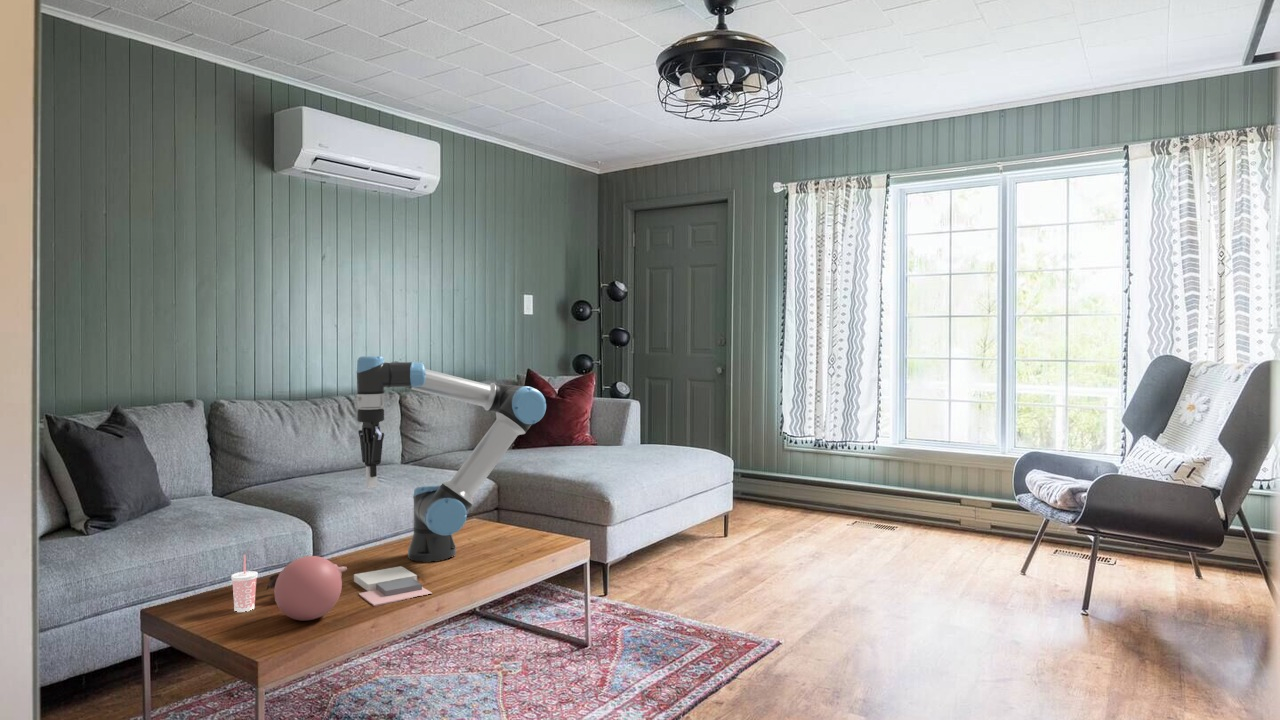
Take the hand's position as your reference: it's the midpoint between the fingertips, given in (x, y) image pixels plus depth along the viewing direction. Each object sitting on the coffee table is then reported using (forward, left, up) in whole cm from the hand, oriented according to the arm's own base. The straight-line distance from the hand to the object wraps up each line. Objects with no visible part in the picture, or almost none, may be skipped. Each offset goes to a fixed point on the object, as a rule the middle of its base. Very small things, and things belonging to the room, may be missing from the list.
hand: (371, 487), depth 224 cm
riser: (-1, +9, -26) cm, 28 cm away
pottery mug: (+24, +7, -27) cm, 37 cm away
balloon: (+23, +26, -26) cm, 43 cm away
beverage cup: (+36, +10, -26) cm, 46 cm away
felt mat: (+1, +22, -26) cm, 34 cm away
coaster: (-1, +19, -26) cm, 32 cm away
